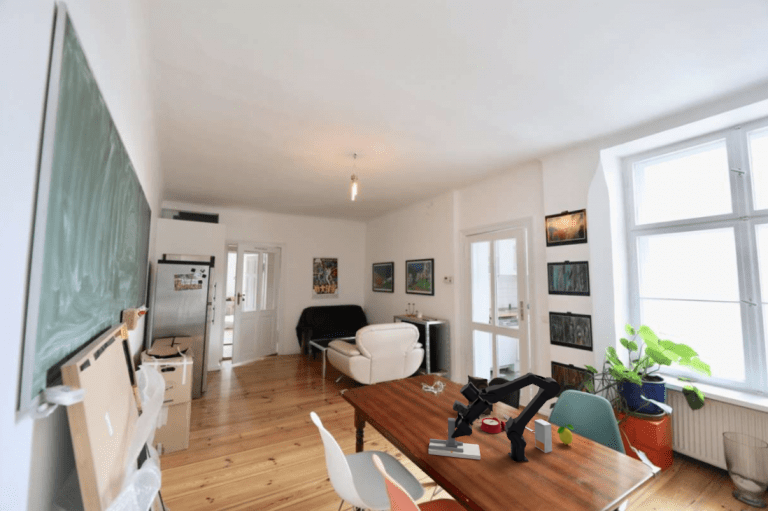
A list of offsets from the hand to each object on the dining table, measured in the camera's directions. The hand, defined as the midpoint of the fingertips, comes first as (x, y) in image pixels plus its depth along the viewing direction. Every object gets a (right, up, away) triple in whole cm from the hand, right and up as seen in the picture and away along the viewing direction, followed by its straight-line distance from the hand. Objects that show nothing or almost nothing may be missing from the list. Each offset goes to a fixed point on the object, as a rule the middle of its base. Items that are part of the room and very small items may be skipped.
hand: (451, 432), depth 149 cm
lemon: (+55, -9, +6) cm, 56 cm away
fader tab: (0, -6, 0) cm, 6 cm away
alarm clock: (+26, -10, +22) cm, 36 cm away
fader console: (+1, -8, -1) cm, 8 cm away
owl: (+27, -12, +46) cm, 54 cm away
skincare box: (+42, -8, +1) cm, 43 cm away
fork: (+42, -11, +26) cm, 51 cm away
